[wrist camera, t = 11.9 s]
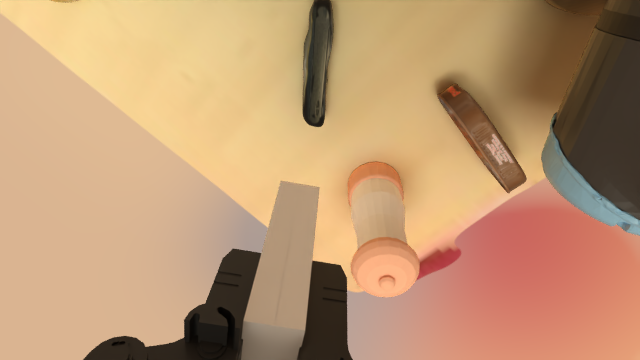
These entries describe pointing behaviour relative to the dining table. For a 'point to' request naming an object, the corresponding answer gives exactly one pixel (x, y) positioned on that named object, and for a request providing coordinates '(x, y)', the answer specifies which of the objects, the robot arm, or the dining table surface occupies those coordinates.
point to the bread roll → (63, 0)
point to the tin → (482, 137)
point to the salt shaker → (380, 232)
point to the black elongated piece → (317, 61)
